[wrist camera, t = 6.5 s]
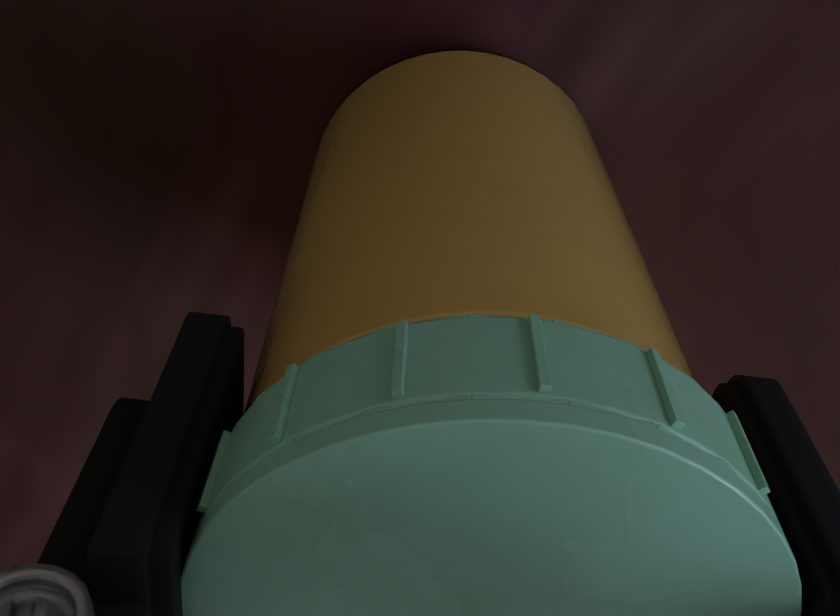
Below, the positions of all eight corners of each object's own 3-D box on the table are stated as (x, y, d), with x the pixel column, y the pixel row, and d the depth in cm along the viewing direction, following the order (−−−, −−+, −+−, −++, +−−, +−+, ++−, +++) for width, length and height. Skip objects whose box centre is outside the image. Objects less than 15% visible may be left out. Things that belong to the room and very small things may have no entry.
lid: (272, 231, 8) (236, 331, 6) (876, 406, 9) (954, 522, 7) (176, 619, 11) (141, 731, 10) (604, 706, 12) (623, 817, 11)
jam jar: (533, 334, 20) (610, 769, 11) (286, 269, 19) (169, 697, 10) (650, 103, 16) (890, 488, 8) (353, 6, 15) (259, 333, 7)
